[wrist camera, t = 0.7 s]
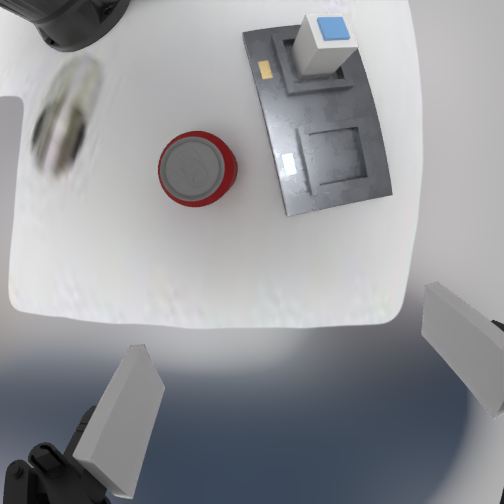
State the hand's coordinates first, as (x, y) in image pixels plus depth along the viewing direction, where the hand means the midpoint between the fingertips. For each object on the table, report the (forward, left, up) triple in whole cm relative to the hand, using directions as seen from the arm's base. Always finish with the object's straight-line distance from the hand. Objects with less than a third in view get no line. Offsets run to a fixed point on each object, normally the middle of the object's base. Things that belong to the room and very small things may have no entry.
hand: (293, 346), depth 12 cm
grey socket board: (-13, +10, -25) cm, 30 cm away
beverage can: (-9, -5, -25) cm, 27 cm away
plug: (-19, +10, -23) cm, 32 cm away
